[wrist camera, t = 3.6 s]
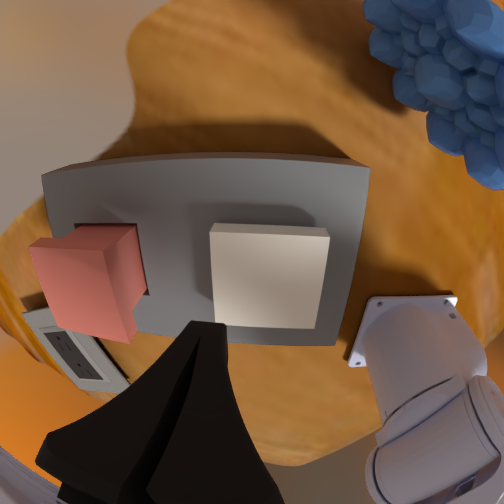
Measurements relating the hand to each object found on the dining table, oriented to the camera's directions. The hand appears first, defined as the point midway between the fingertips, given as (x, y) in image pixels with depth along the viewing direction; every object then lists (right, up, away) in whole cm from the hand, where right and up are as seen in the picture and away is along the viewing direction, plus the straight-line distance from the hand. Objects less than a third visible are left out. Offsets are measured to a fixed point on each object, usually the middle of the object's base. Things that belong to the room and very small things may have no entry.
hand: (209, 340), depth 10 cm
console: (-2, +4, +9) cm, 10 cm away
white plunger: (+3, +4, +8) cm, 10 cm away
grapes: (+12, +14, +3) cm, 19 cm away
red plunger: (-7, +3, +7) cm, 11 cm away
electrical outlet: (-18, -7, +16) cm, 26 cm away
